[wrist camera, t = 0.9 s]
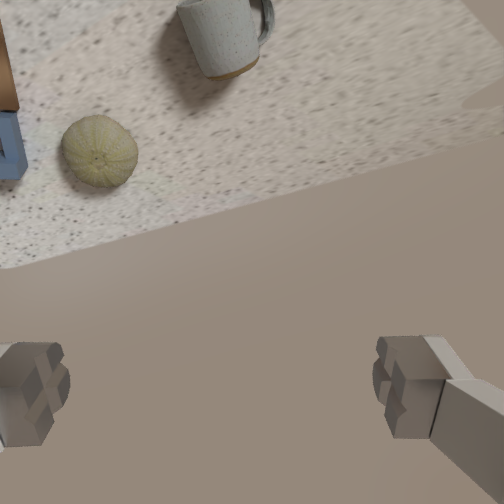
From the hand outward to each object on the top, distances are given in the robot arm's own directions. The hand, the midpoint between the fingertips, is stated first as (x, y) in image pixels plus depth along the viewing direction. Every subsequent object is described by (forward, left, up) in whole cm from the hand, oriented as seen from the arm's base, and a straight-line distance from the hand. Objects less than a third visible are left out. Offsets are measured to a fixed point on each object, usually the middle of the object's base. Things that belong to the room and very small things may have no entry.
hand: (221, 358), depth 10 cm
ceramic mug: (-4, +7, -46) cm, 46 cm away
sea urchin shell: (+12, -9, -46) cm, 48 cm away
